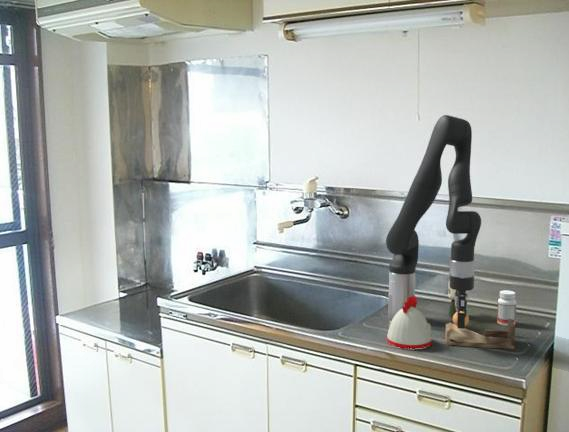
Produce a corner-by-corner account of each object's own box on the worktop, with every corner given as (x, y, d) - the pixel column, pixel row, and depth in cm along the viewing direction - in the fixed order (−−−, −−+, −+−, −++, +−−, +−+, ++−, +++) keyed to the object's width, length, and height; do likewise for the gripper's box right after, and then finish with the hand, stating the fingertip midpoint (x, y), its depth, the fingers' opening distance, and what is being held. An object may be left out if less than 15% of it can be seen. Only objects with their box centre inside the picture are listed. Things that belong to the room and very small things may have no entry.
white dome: (438, 341, 202) (440, 296, 200) (418, 353, 192) (419, 305, 190) (400, 332, 211) (401, 289, 209) (379, 343, 201) (379, 298, 199)
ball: (453, 328, 199) (453, 313, 198) (452, 323, 204) (452, 308, 203) (469, 329, 198) (469, 314, 197) (468, 324, 203) (468, 309, 202)
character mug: (451, 310, 234) (452, 277, 233) (471, 313, 231) (472, 279, 229) (444, 318, 225) (444, 283, 223) (464, 321, 222) (465, 285, 220)
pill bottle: (503, 319, 223) (504, 288, 222) (519, 323, 219) (520, 292, 217) (493, 323, 219) (494, 291, 218) (509, 327, 215) (510, 295, 213)
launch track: (446, 350, 199) (447, 323, 197) (445, 341, 207) (445, 315, 206) (514, 354, 194) (515, 327, 193) (510, 345, 203) (511, 318, 202)
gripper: (448, 268, 206) (447, 318, 209) (450, 278, 192) (449, 332, 195) (472, 269, 205) (470, 319, 207) (476, 279, 191) (474, 333, 193)
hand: (460, 325), depth 201 cm, fingers closed on ball, 4 cm apart
